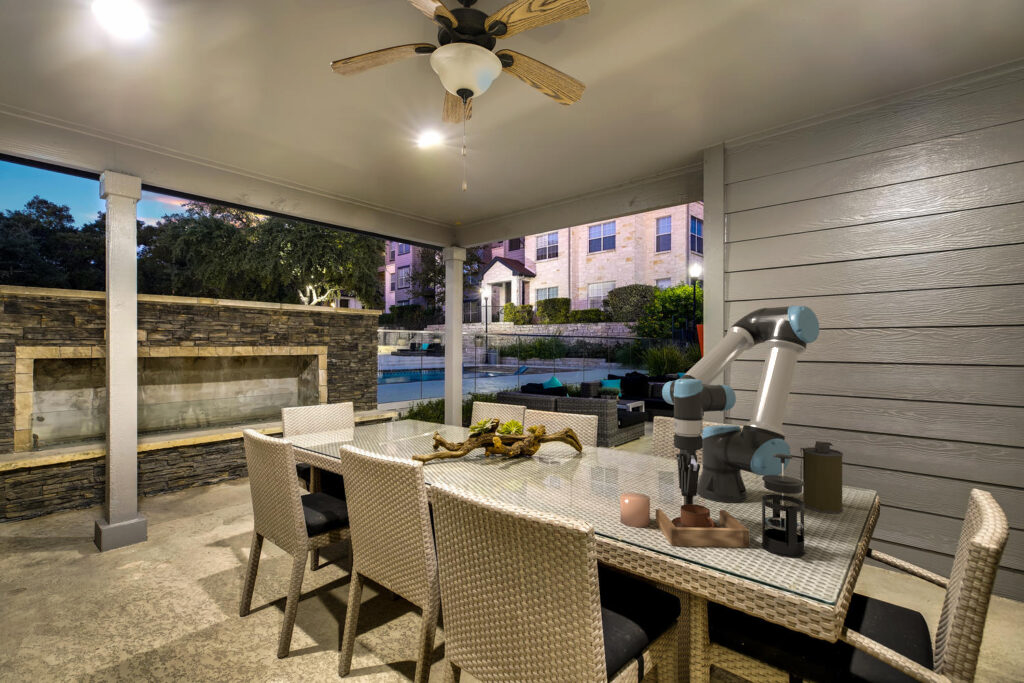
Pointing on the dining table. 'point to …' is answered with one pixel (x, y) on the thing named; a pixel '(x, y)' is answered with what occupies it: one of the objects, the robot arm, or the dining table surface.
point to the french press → (784, 529)
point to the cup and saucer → (694, 517)
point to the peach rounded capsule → (635, 510)
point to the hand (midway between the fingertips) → (687, 517)
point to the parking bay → (705, 532)
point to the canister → (822, 478)
